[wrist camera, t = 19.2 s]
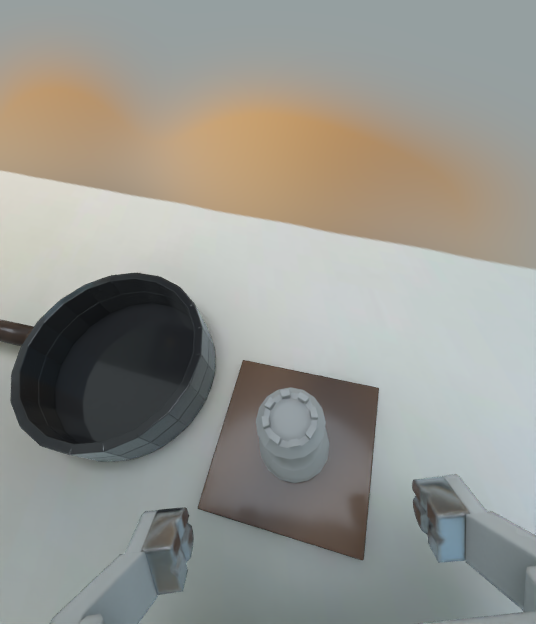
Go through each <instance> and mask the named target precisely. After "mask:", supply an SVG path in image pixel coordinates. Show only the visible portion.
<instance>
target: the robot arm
mask: <svg viewBox="0 0 536 624" xmlns="http://www.w3.org/2000/svg"><path fill="white" fill-rule="evenodd" d="M412 489H413V491H414V493H415V495H416V496H415V498H414V499H413V508H414V512H415V516H416V519H417V522H418V524H419V526H420V528H421V530H422V531H423V532H424V533H426V534H427V535H428V544H429V546H430V548H431V550H432V551H433V553H434V555H435V557H436V559H437V561H438V563H440V562H453V561H465V560H466V563H467V564H469V565H470V566H471V567H472V568H473V569H475V570H476V571H477V572H478V573H479V574H480V575H482V576H483V577H484V578H485V579H486V580H488V581H489V582H490V583H491V584H492V585H494V586H495V587H496V588H497V589H498V590H499V591H501V592H502V593H503V594H504V595H505V596H507V597H508V598H509V599H510V600H511V601H513V602H514V603H515V604H516V605H517V606H518V607H520V608H521V609H522V610H523V612H522V613H513V614H503V615H494V616H484V617H475V618H466V619H456V620H447V621H437V622H428V623H418V624H536V536H535V535H534V534H532V533H530V532H528V531H527V530H525V529H523V528H521V527H519V526H518V525H516V524H514V523H512V522H510V521H509V520H507V519H505V518H503V517H501V516H500V515H498V514H496V513H494V512H492V511H490V512H487V510H486V509H485V508H484V507H483V505H482V504H481V503H480V502H479V500H478V499H477V498H476V497H475V495H474V494H473V493H472V492H471V490H470V489H469V488H468V487H467V485H466V484H465V483H464V481H463V480H462V479H461V478H460V476H458V475H457V474H454V475H446V476H442V477H441V476H440V477H432V478H424V479H416V480H413V483H412ZM188 518H189V514H188V510H187V508H185V507H184V508H173V509H162V510H155V511H145V512H144V513H143V514H142V515H141V518H140V520H139V522H138V524H137V527H136V529H135V531H134V533H133V536H132V538H131V540H130V542H129V545H128V547H127V549H126V551H125V554H120V555H119V556H118V557H117V558H116V559H115V560H114V561H113V562H112V563H111V564H110V565H108V566H107V567H106V568H105V569H104V570H103V571H102V572H101V573H100V574H99V575H98V576H97V577H96V578H95V579H94V580H93V581H91V582H90V583H89V584H88V585H87V586H86V587H85V588H84V589H83V590H82V591H81V592H80V593H79V594H78V595H77V596H76V597H74V598H73V599H72V600H71V601H70V602H69V603H68V604H67V605H66V606H65V607H64V608H63V609H62V610H61V611H60V612H58V613H57V614H56V615H55V616H54V617H53V619H52V620H51V622H50V624H138V623H139V622H140V621H141V619H142V618H143V616H144V615H145V614H146V612H147V611H148V609H149V608H150V607H151V605H152V604H153V602H154V601H155V600H156V598H157V597H158V596H157V595H160V594H167V593H174V592H181V591H183V589H184V585H185V581H186V577H187V572H188V569H187V564H186V563H187V561H188V560H189V559H190V558H191V555H192V550H193V530H192V526H191V525H190V524H189V523H187V522H188Z"/></svg>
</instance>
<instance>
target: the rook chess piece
mask: <svg viewBox="0 0 536 624" xmlns="http://www.w3.org/2000/svg"><path fill="white" fill-rule="evenodd" d="M325 424H326V421H325V417H324V413H323V409H322V407H321V406H320V404H319V403H318V402H317V400H316V399H315V397H313V396H312V395H310V394H309V393H307V392H306V391H304V390H301V389H296V388H291V387H290V388H285V389H279V390H277V391H275V392H274V393H272V394H270V395H269V396H267V397H266V399H265V400H264V402H263V403H262V404H261V406H260V407H259V410H258V414H257V418H256V426H257V433H258V436H259V438H260V439H259V443H260V451H261V457H262V459H263V461H264V463H265V465H266V466H267V468H268V470H269V471H270V472H271V473H273V474H274V475H275V476H276V477H278V478H279V479H280V480H284V481H288V482H292V483H298V482H303V481H308V480H310V479H311V478H313V477H314V476H315V475H317V474H318V473H320V471H321V470H322V468H323V466H324V465H325V463H326V461H327V459H328V452H329V440H328V436H327V431H326V428H325Z"/></svg>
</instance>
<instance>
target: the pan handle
mask: <svg viewBox="0 0 536 624" xmlns="http://www.w3.org/2000/svg"><path fill="white" fill-rule="evenodd" d="M33 328H34V327H33V326H28V325H23V324H19V323H14V322H9V321H5V320H0V341H2V342H6V343H10V344H15V345H19V346H22V344H23V343H24V341H25V340H26V338H27V337H28V335H29V334H30V332H31V331H32V329H33Z"/></svg>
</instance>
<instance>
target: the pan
mask: <svg viewBox="0 0 536 624" xmlns="http://www.w3.org/2000/svg"><path fill="white" fill-rule="evenodd" d="M214 372H215V349H214V345H213V341H212V338H211V336H210V333H209V330H208V327H207V326H206V324H205V322H204V320H203V318H202V316H201V315H200V313H199V311H198V309H197V307H196V305H195V304H194V302H193V301H192V300H191V299H190V298H189V297H188V296H187V294H186V293H185V292H184V291H183V290H182V289H181V288H180V287H179V286H177V285H175V284H173V283H171V282H169V281H168V280H166V279H164V278H162V277H159V276H154V275H148V274H141V273H128V274H120V275H111V276H108V277H105V278H102V279H99V280H97V281H94V282H91V283H88V284H86V285H84V286H82V287H80V288H79V289H77V290H75V291H74V292H72V293H71V294H69V295H67V296H66V297H64V298H63V299H61V300H60V301H58V302H57V303H56V304H55V305H54V306H53V307H52V308H51V309H50V310H49V311H48V312H47V313H46V314H45V315H44V316H43V317H42V318H41V319H40V320H39V321H38V322H37V323H36V325H35V326H34V328H33V329H32V331H31V332H30V334H29V335H28V337H27V338H26V340H25V341H24V343H23V344H22V346H21V348H20V351H19V353H18V356H17V359H16V362H15V365H14V368H13V370H12V374H11V404H12V407H13V409H14V412H15V415H16V417H17V420H18V423H19V425H20V427H21V428H22V429H23V430H24V431H25V432H26V433H27V434H28V435H29V436H30V437H31V438H32V439H33V440H34V441H36V442H37V443H38V444H39V445H40V446H42V447H45V448H48V449H52V450H55V451H58V452H62V453H65V454H68V455H73V456H77V457H82V458H87V459H91V460H96V461H101V462H107V461H124V460H130V459H134V458H138V457H141V456H144V455H146V454H149V453H151V452H153V451H155V450H157V449H159V448H161V447H163V446H164V445H166V444H167V443H169V442H170V441H171V440H173V439H174V438H175V437H177V436H178V435H179V434H180V433H181V432H182V431H183V430H184V429H185V428H186V427H187V426H188V425H189V424H190V423H191V422H192V421H193V419H194V418H195V416H196V415H197V414H198V412H199V411H200V409H201V408H202V406H203V404H204V402H205V400H206V398H207V396H208V394H209V391H210V389H211V386H212V382H213V378H214Z"/></svg>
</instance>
